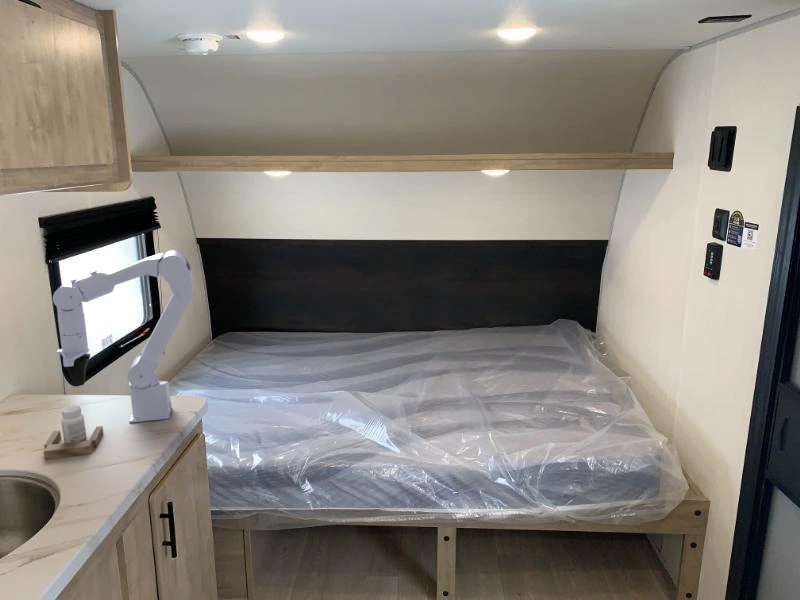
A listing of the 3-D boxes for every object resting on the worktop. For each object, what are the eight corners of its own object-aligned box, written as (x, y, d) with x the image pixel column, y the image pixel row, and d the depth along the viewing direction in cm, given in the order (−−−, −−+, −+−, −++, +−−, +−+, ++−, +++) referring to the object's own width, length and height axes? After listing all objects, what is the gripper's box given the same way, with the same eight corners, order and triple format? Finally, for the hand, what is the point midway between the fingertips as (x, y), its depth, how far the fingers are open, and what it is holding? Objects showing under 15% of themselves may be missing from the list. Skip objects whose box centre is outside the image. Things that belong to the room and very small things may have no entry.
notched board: (103, 433, 150) (102, 426, 149) (93, 453, 140) (92, 445, 139) (54, 438, 147) (53, 431, 147) (41, 459, 137) (40, 451, 137)
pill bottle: (91, 437, 147) (86, 405, 145) (78, 447, 143) (73, 413, 141) (73, 436, 148) (68, 404, 146) (59, 445, 144) (54, 412, 142)
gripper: (63, 325, 156) (69, 375, 159) (46, 342, 142) (53, 396, 145) (93, 323, 157) (98, 373, 161) (79, 340, 144) (86, 394, 147)
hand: (79, 384), depth 153 cm, fingers closed
